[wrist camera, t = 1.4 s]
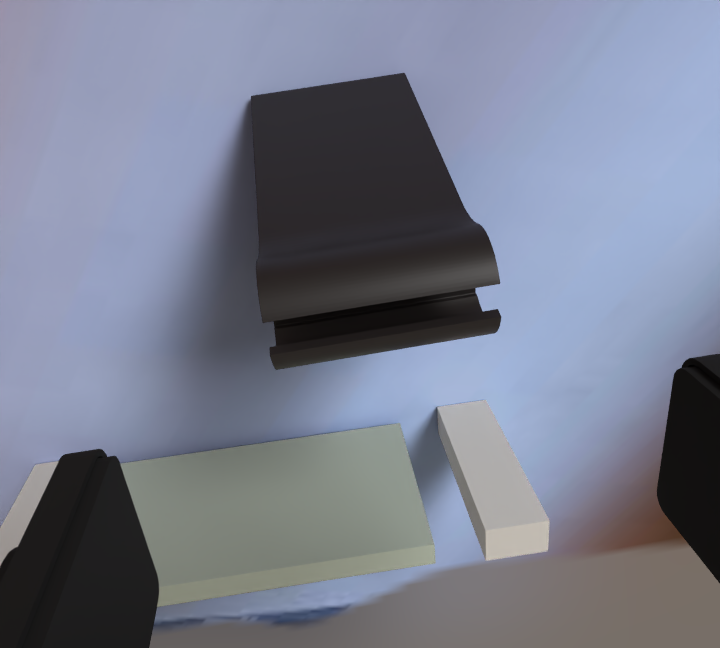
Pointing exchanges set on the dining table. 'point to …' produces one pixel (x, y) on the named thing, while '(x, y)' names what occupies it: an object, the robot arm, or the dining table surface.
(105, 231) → the dining table surface
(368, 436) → the door
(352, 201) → the phone stand
